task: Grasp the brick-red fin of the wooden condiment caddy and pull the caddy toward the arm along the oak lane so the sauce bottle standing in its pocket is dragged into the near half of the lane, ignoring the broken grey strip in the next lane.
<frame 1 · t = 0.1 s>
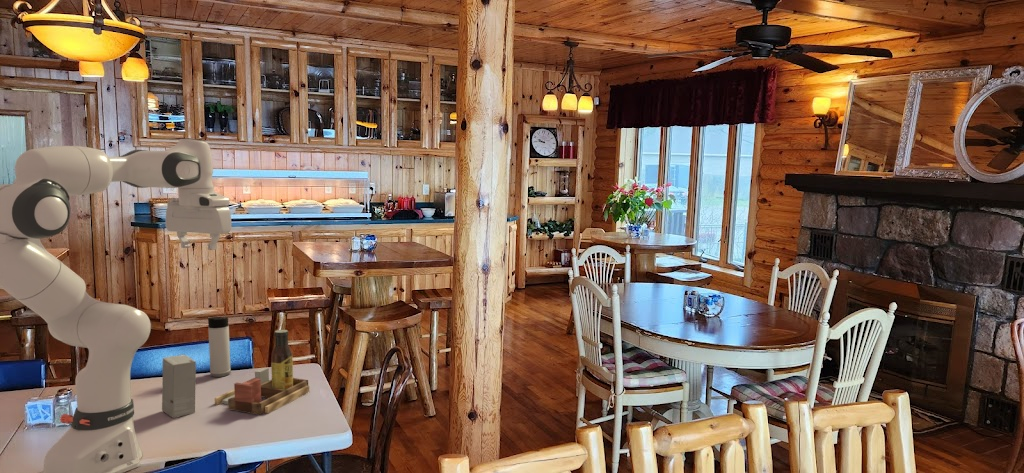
hand: (198, 248, 184), 48 cm above the table, tool pointing down, fingers open, 8 cm apart
travel mug: (220, 375, 224), on the table
oak lane rails: (267, 398, 203), on the table
skincare box: (180, 412, 192), on the table
sauce bottle: (282, 394, 207), resting in wooden condiment caddy
wooden condiment caddy: (269, 386, 201), point 4 cm above the table, slide at 0.0 cm
broken grey strip: (247, 394, 206), on the table
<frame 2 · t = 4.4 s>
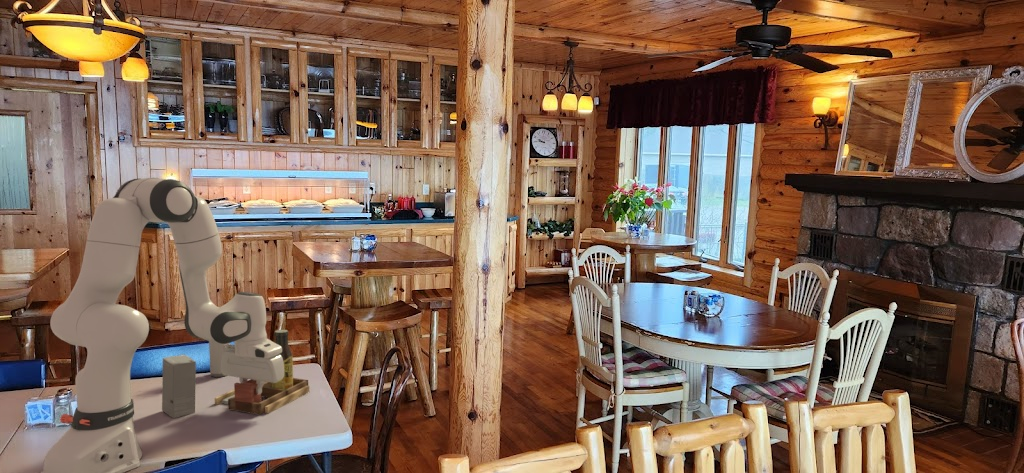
hand: (252, 392, 194), 5 cm above the table, tool pointing down, fingers closed on wooden condiment caddy, 2 cm apart
wooden condiment caddy: (269, 386, 201), point 4 cm above the table, slide at 0.0 cm, touching gripper
everything else where it was.
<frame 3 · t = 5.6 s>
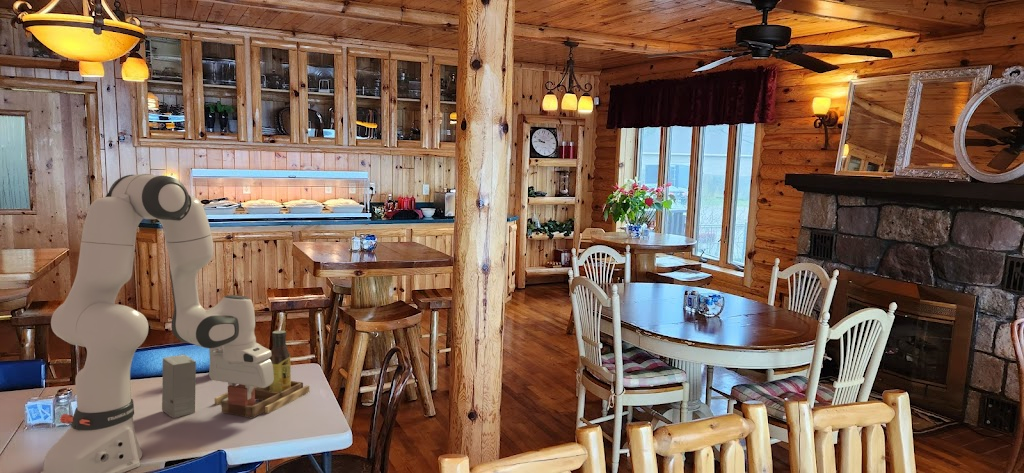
hand: (241, 398, 190), 5 cm above the table, tool pointing down, fingers closed on wooden condiment caddy, 2 cm apart
sauce bottle: (280, 395, 206), resting in wooden condiment caddy
wooden condiment caddy: (263, 388, 199), point 4 cm above the table, slide at 2.6 cm, touching gripper, sauce bottle
everything else where it was.
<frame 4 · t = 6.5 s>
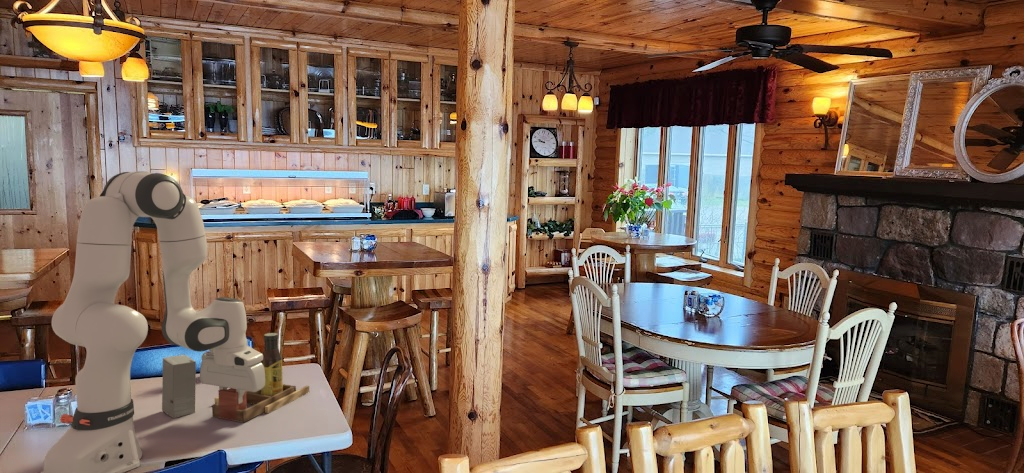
hand: (233, 402, 187), 5 cm above the table, tool pointing down, fingers closed on wooden condiment caddy, 2 cm apart
sauce bottle: (272, 398, 203), resting in wooden condiment caddy
wooden condiment caddy: (255, 392, 196), point 4 cm above the table, slide at 6.0 cm, touching gripper, sauce bottle
everything else where it was.
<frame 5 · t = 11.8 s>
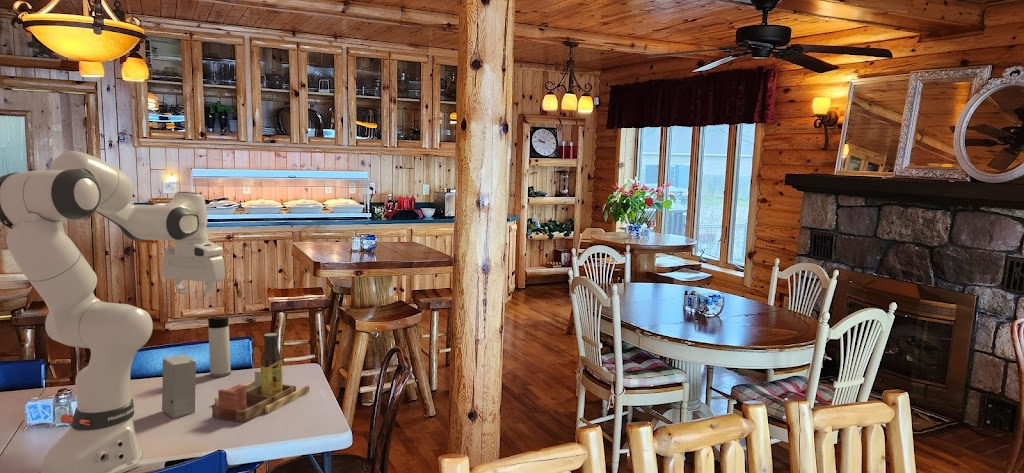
hand: (194, 295, 193), 33 cm above the table, tool pointing down, fingers open, 8 cm apart
sauce bottle: (272, 398, 203), resting in wooden condiment caddy
wooden condiment caddy: (255, 392, 196), point 4 cm above the table, slide at 6.1 cm
everything else where it was.
at the end: wooden condiment caddy slide at 6.1 cm; sauce bottle inside the target area (3.4 cm from its centre), resting in wooden condiment caddy; sauce bottle tilted 0° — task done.
